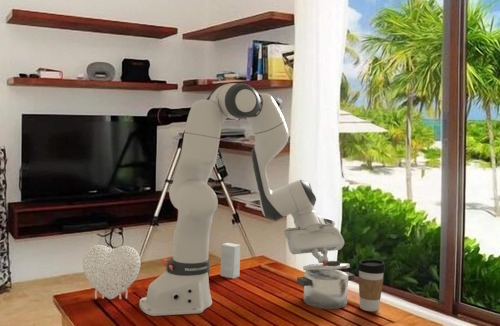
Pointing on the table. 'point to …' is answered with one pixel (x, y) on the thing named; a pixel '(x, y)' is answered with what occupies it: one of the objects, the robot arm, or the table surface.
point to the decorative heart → (111, 269)
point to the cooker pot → (326, 288)
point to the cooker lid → (326, 266)
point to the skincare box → (230, 260)
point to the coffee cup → (370, 283)
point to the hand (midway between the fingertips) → (324, 262)
